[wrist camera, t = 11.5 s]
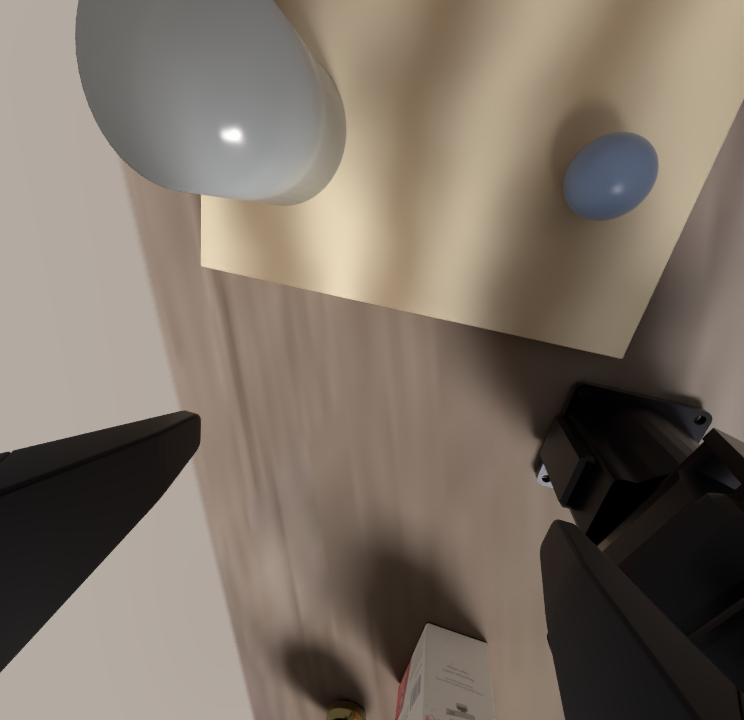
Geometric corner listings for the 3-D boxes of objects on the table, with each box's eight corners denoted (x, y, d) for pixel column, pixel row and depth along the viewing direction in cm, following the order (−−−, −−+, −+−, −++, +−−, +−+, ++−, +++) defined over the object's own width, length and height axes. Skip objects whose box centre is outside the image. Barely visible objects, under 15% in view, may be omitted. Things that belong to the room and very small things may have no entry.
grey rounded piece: (357, 55, 15) (290, -74, 9) (335, 216, 18) (270, 209, 11) (217, 36, 16) (60, -95, 9) (215, 193, 18) (88, 173, 12)
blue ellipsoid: (647, 148, 14) (695, 128, 12) (616, 227, 15) (653, 227, 13) (569, 136, 15) (598, 115, 12) (544, 214, 16) (564, 211, 13)
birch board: (945, -380, 10) (1007, -455, 9) (613, 352, 18) (624, 360, 17) (219, -372, 13) (197, -429, 12) (211, 264, 21) (198, 266, 20)
